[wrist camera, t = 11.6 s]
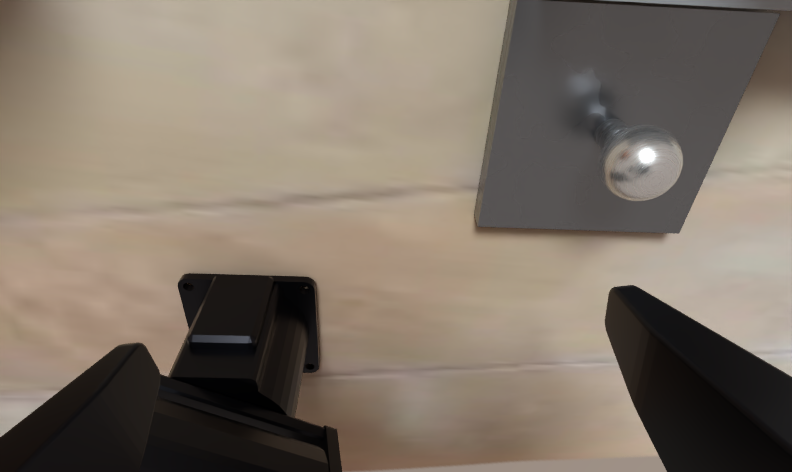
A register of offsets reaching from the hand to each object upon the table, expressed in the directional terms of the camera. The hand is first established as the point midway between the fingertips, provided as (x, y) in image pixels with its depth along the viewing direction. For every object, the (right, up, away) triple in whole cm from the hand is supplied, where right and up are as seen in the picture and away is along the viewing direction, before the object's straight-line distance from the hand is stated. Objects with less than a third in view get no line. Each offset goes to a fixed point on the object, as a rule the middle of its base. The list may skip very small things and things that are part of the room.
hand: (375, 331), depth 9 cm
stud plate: (+9, +6, +10) cm, 15 cm away
